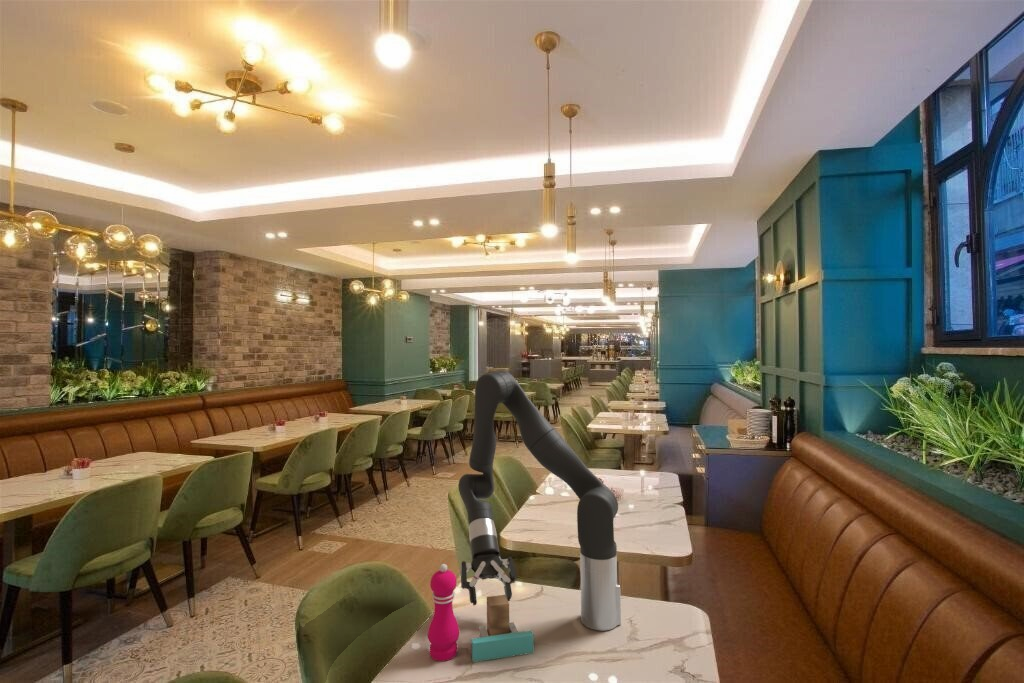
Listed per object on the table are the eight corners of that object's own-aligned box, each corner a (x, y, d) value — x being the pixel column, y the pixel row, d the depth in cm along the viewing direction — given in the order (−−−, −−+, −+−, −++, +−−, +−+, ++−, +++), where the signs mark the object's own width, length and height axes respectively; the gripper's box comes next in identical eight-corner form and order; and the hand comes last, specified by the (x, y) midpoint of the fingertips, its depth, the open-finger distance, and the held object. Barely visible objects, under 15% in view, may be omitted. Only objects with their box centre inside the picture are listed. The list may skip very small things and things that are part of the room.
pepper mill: (453, 664, 108) (453, 572, 109) (422, 660, 110) (422, 569, 110) (463, 645, 115) (463, 559, 116) (434, 642, 117) (434, 556, 118)
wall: (531, 648, 114) (531, 630, 114) (533, 653, 112) (533, 635, 112) (471, 656, 111) (471, 638, 111) (472, 662, 109) (472, 643, 109)
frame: (513, 634, 119) (513, 622, 120) (519, 648, 114) (519, 635, 114) (479, 639, 118) (479, 626, 118) (483, 654, 112) (483, 640, 112)
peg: (505, 636, 119) (504, 594, 119) (509, 647, 115) (509, 603, 115) (486, 639, 118) (486, 596, 118) (490, 650, 114) (490, 605, 114)
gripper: (459, 535, 131) (465, 600, 119) (511, 531, 134) (522, 593, 122) (456, 548, 136) (462, 611, 124) (506, 543, 139) (516, 604, 127)
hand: (491, 602), depth 123 cm, fingers open, 8 cm apart
